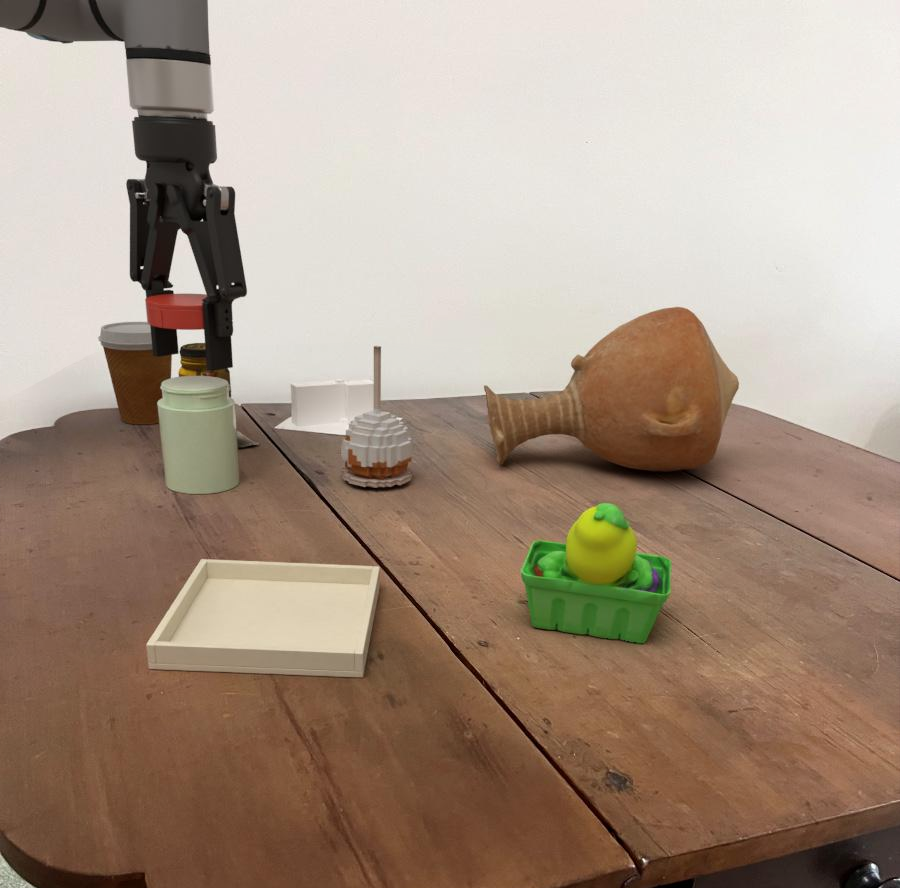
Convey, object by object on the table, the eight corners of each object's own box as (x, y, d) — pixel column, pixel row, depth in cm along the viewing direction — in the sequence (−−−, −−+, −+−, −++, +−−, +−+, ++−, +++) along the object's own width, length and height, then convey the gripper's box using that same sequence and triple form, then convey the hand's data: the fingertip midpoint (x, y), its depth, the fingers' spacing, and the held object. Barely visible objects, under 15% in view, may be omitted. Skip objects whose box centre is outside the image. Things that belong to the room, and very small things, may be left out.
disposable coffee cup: (93, 418, 123) (81, 326, 117) (151, 406, 130) (142, 318, 125) (139, 432, 118) (129, 336, 113) (197, 418, 125) (189, 327, 120)
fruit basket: (663, 611, 77) (683, 483, 72) (660, 662, 69) (683, 521, 64) (528, 593, 79) (539, 467, 74) (511, 640, 71) (522, 502, 66)
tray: (148, 669, 65) (145, 644, 64) (202, 580, 79) (200, 558, 78) (362, 677, 65) (362, 653, 64) (379, 587, 79) (380, 566, 78)
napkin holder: (272, 428, 122) (271, 385, 120) (301, 408, 132) (300, 368, 130) (382, 438, 120) (382, 395, 117) (403, 417, 130) (403, 377, 127)
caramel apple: (367, 466, 109) (368, 337, 103) (423, 478, 106) (427, 345, 99) (328, 483, 103) (325, 346, 96) (386, 496, 100) (387, 356, 93)
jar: (155, 492, 98) (145, 389, 93) (176, 469, 105) (167, 373, 100) (230, 495, 98) (224, 393, 93) (246, 472, 105) (240, 376, 100)
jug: (783, 400, 96) (499, 427, 95) (736, 499, 113) (495, 523, 112) (736, 263, 105) (477, 287, 104) (699, 374, 122) (475, 395, 121)
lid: (195, 333, 89) (193, 308, 88) (129, 323, 92) (126, 299, 91) (246, 321, 96) (245, 298, 95) (183, 313, 99) (181, 291, 98)
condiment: (174, 439, 116) (165, 342, 110) (238, 432, 120) (232, 338, 115) (193, 455, 110) (185, 353, 105) (260, 446, 114) (255, 348, 109)
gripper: (280, 120, 83) (288, 373, 93) (140, 116, 94) (160, 342, 104) (213, 115, 77) (229, 384, 87) (73, 111, 89) (101, 350, 99)
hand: (192, 361), depth 96 cm, fingers closed on lid, 8 cm apart
